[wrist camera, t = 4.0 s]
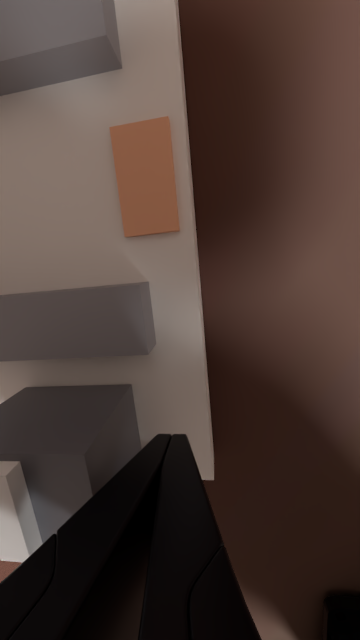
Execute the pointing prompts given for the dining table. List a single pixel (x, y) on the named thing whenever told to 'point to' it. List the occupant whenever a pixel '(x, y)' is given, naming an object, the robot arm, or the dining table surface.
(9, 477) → the tab
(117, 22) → the switch board
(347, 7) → the dining table surface
